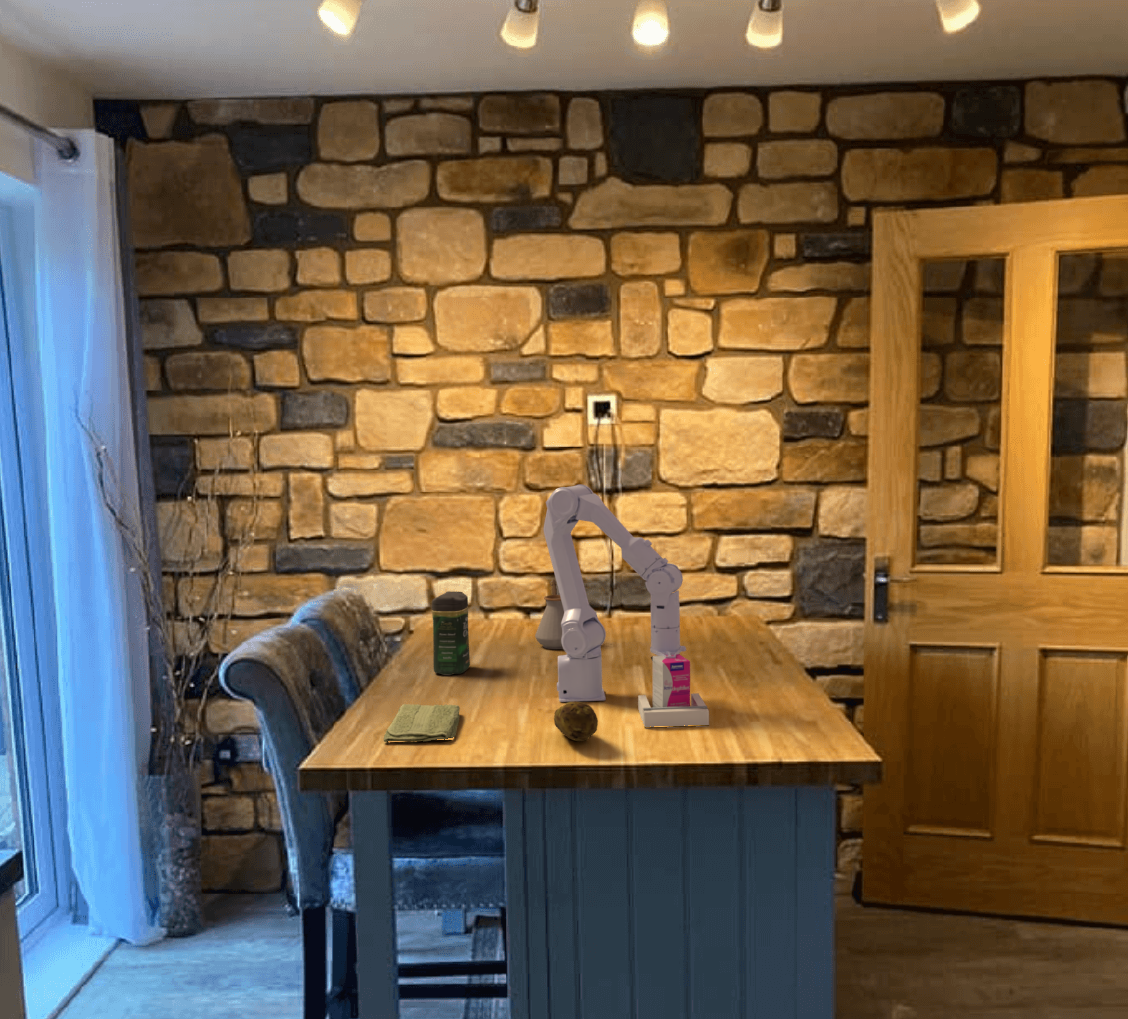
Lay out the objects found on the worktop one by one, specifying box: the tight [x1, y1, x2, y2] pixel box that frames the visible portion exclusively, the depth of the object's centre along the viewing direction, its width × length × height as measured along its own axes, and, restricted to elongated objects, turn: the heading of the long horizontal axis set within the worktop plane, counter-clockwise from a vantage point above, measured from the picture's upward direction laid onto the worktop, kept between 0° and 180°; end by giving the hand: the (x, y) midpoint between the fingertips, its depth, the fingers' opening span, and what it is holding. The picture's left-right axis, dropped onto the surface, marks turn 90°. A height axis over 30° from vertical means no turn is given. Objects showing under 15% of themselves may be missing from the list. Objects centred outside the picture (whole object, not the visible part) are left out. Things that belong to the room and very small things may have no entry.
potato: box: [553, 701, 599, 742], centre depth 167 cm, size 8×13×8 cm, turn 176°
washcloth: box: [383, 703, 461, 743], centre depth 177 cm, size 13×18×3 cm
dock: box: [637, 692, 710, 727], centre depth 179 cm, size 12×11×3 cm
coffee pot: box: [534, 579, 564, 650], centre depth 246 cm, size 21×12×15 cm, turn 3°
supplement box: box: [652, 653, 691, 707], centre depth 180 cm, size 6×6×12 cm
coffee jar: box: [431, 591, 471, 676], centre depth 219 cm, size 10×8×19 cm
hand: (666, 692), depth 187 cm, fingers closed
